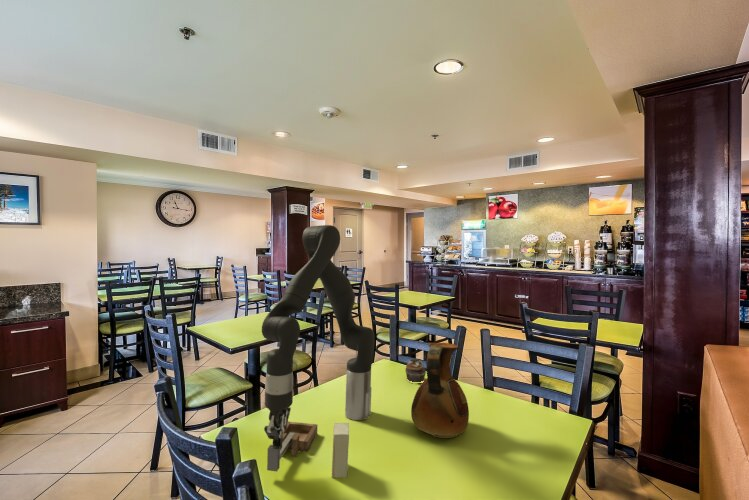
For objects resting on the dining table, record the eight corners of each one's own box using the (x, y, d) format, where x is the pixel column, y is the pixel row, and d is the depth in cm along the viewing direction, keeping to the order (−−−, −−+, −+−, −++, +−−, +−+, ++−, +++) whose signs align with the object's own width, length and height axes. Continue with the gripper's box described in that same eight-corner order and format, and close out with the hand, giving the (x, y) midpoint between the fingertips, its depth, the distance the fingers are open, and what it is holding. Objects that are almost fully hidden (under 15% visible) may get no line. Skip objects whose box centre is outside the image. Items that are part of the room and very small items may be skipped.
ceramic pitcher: (472, 423, 128) (475, 341, 127) (461, 452, 109) (465, 357, 109) (420, 411, 136) (423, 334, 135) (402, 436, 118) (405, 347, 117)
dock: (317, 433, 117) (317, 418, 117) (303, 457, 104) (304, 440, 104) (287, 430, 119) (287, 415, 119) (270, 454, 105) (271, 436, 105)
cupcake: (404, 383, 162) (405, 362, 162) (406, 375, 172) (406, 355, 172) (425, 385, 161) (426, 364, 161) (425, 377, 170) (426, 357, 170)
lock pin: (296, 441, 108) (297, 421, 108) (277, 471, 94) (277, 449, 94) (287, 440, 109) (288, 420, 109) (267, 470, 94) (267, 448, 94)
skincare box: (332, 464, 102) (333, 422, 101) (347, 463, 102) (348, 422, 102) (331, 478, 95) (332, 434, 95) (347, 478, 96) (349, 434, 95)
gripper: (282, 399, 90) (280, 466, 90) (300, 379, 103) (298, 438, 103) (255, 396, 91) (253, 462, 91) (276, 377, 104) (274, 435, 104)
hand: (277, 449), depth 97 cm, fingers closed
